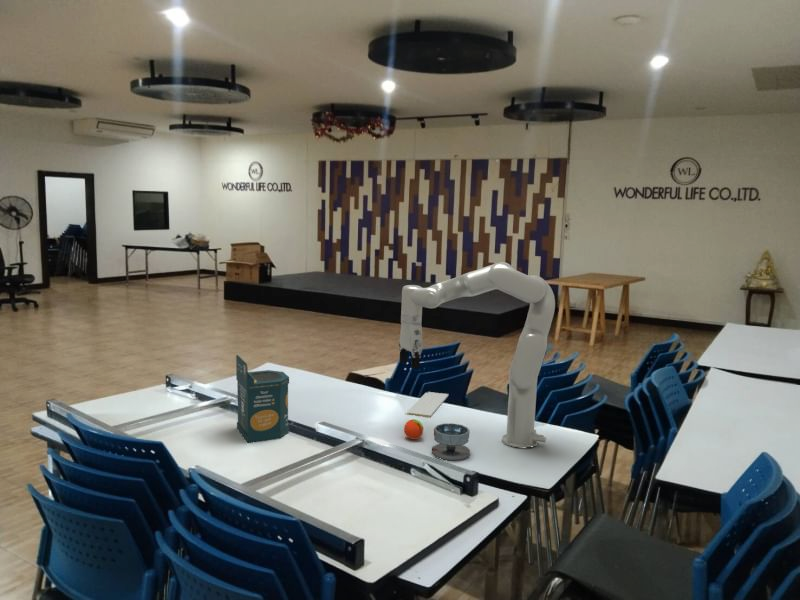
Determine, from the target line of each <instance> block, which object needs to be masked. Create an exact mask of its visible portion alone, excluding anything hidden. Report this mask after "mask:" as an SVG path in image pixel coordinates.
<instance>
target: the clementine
mask: <svg viewBox="0 0 800 600" xmlns="http://www.w3.org/2000/svg"><path fill="white" fill-rule="evenodd" d="M403 432H404V435H405V436H406V437H407V438H409V439H411V440H416V439H419V438H420V437H421V436H422V434H423V433H424V426H423V423H422V422H421V421H420V420H418V419H415V418H413V419H409V420H408V421H407V422H406V423H405V424H404V426H403Z"/></svg>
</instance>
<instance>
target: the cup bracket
mask: <svg viewBox="0 0 800 600" xmlns="http://www.w3.org/2000/svg"><path fill="white" fill-rule="evenodd" d="M470 433H471V432H470V429H469V428H468V427H467V426H464V424H463V425H462V424H458V423H448V422H447V423H440V424H437V425H436V426H435V427H434V428H433V437H434V438H433V439H434V442H436V444H435V445H433V446H432V447H431V454H433V455H434V456H435V458H436V457H438V458H441V459H443V460H442V461H445V460H447V461H446V462H461V461H465V460H467V459H469V458H470V457H471V450H470V448H469V447H467V446H465V445H466V444H467V443H469V439H470ZM433 455H432V456H433ZM434 456H433V457H434ZM469 456H470V457H469ZM438 458H437V459H438ZM441 459H440V460H441Z"/></svg>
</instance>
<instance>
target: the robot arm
mask: <svg viewBox="0 0 800 600" xmlns="http://www.w3.org/2000/svg"><path fill="white" fill-rule="evenodd" d="M494 290H499V291H500V292H503V293H504V294H507V295H510V296H512V297H514V298H515V299H519V300H521V301H523V302H525V303H528V304H529V308H528V312H527V317H526V320H525V323H524V325H523V326H524V327H523V328H522V331H521V333H520V335H519V338H518V341H517V344H516V345H517V346H516V349H515V352H514V354H513V355H514V356H513V359H512V362H511V364H510V366H509V371H508V379H509V387H508V402H507V403H508V404H507V416H506V417H507V419H506V420H507V422H506V433H505V434H504V435H502V436H501V442H502V444H504V445H507V446H508V445H509V447H511V446H512V448H515V447H531V446H535V445H536V444H537V443H539V442H540V443H544V444H545V443H546V442H547V437H546V436H544V435H543V434H538V433H537V429H535V423H536V422H535V418H536V404H537V403H536V402H537V388H538V386H537V385H538V378H539V377H538V376H539V374H540V371H541V368H542V365H543V362H544V359H545V355H546V352H547V347H548V337H549V332H550V329H551V326H552V322H553V318H554V315H555V309H556V299H555V294H554V292H553V289H552V287H551V286H550V284H548V282H547V280H545V279H544V278H542V277H541V276H539V275H536V274H535V275H534V274H531V275H527V274H525V273H523V272H521V271H518V270H517V269H515V268H513V267H512V265H511V264H509V263H508V262H505V261H500V262H496V263H493V264H491V265H488V266H484V267H480V268H478V269H476V270H471V271H469V272H466V273H463V274H461V275H459V276H456V277H454V278H449V279H447V280H443V281H442V282H438V283H434V284H432V285H430V286H428V287H422V286H420V285H416V284H408V285H404V286H403V287H402V289H401V311H400V313H401V314H400V324H401V326H400V332H399V333H400V334H399V337H398V347H399V349H398V350H399V363H407V362H408V361H409V359H408V358H409V352H411V356H412V357H411V361H410V363H411V366H410V368H411V369H413V370H414V369H420V366H421V358H422V357H421V356H422V354H423V327H422V319H423V318H422V317H423V308H427V309H436V308H437V307H440V305H441V304H443V303H447V302H449V301H453V300H455V299H460V298H464V297H465V298H466V297H475V296H478V295H482V294H484V293H488V292H490V291H491V292H492V291H494ZM537 445H538V444H537ZM537 445H536V446H537ZM536 446H535V447H536Z"/></svg>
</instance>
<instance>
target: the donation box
mask: <svg viewBox="0 0 800 600" xmlns="http://www.w3.org/2000/svg"><path fill="white" fill-rule="evenodd" d="M235 358H236V359H235V360H236V362H235V364H236V365H235V368H236V369H235V370H236V376H235V377H236V381H237V422H236V429H237V431H238V430H239V431H238V432H239V434H240V435H241V434H242V435H241V436H242V438H243V437H244V438H243V439H244V441H245V440H246V441H245V442H246V444H247V443H248V444H254V443H259V442H266V441H272V440H280V439H283V438H284V437H285V436H286V435H288V434H290V426H289V384H290V376H288V375H287V374H286V373H285V372H284V371H280V370H270V369H267V370H258V371H248V364H247V362H245V361H244V359H243V358H242V357H241V356H240V355H238V354H236V356H235ZM253 442H254V443H253Z"/></svg>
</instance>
